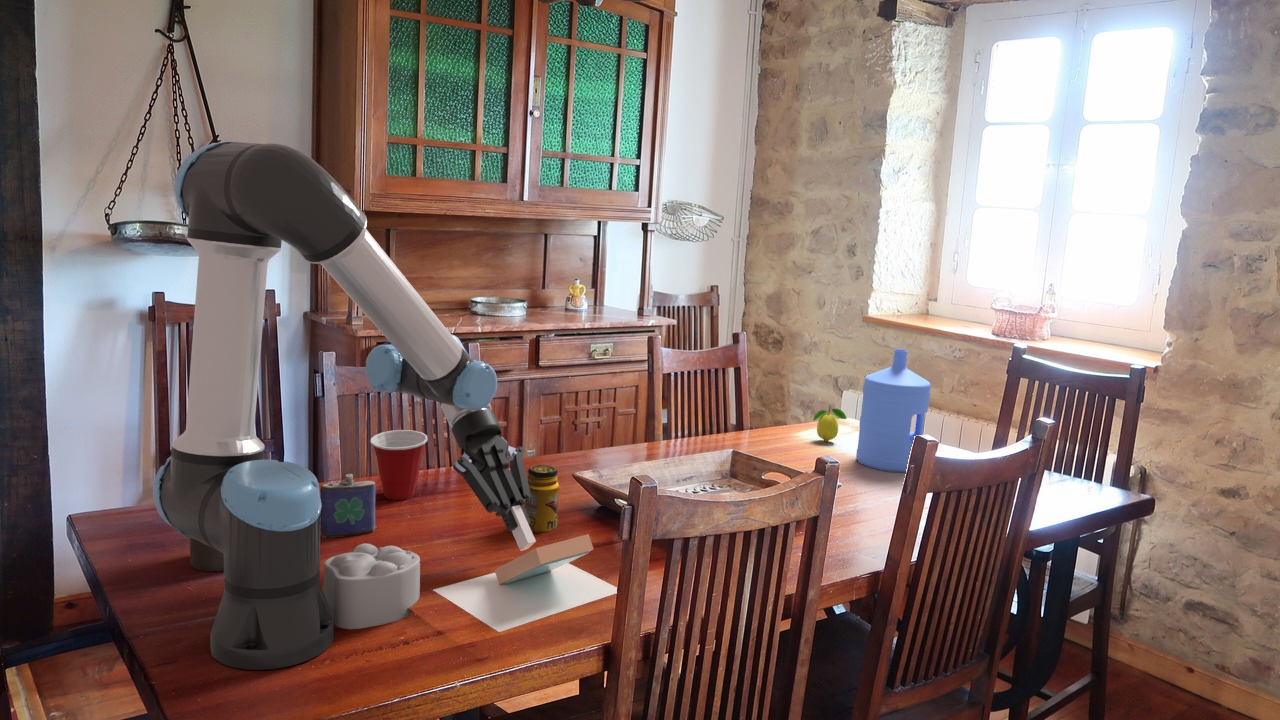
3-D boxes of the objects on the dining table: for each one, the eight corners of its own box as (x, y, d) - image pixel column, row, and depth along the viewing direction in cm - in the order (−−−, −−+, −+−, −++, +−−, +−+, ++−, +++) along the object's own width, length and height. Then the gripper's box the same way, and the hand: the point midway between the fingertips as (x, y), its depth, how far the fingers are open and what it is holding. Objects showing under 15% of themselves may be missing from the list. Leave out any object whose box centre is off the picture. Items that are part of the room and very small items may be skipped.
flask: (373, 527, 168) (374, 469, 166) (376, 533, 165) (377, 474, 163) (319, 533, 164) (319, 473, 162) (321, 539, 161) (321, 479, 159)
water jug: (862, 470, 223) (874, 353, 218) (850, 453, 238) (861, 343, 233) (929, 475, 222) (943, 358, 217) (912, 457, 238) (925, 347, 233)
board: (498, 640, 129) (499, 632, 129) (432, 597, 141) (432, 589, 141) (622, 598, 145) (623, 590, 145) (553, 562, 157) (554, 556, 157)
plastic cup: (358, 499, 182) (358, 439, 180) (389, 484, 192) (390, 427, 190) (407, 508, 179) (408, 447, 177) (437, 492, 189) (438, 434, 187)
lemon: (844, 444, 247) (848, 406, 245) (827, 446, 243) (831, 408, 242) (826, 437, 252) (830, 401, 250) (809, 439, 249) (813, 402, 247)
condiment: (565, 536, 170) (568, 471, 168) (523, 543, 165) (525, 477, 163) (546, 523, 176) (549, 460, 174) (505, 529, 171) (507, 465, 169)
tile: (499, 586, 144) (541, 565, 136) (494, 569, 145) (535, 548, 137) (551, 571, 151) (594, 550, 143) (546, 555, 152) (588, 534, 143)
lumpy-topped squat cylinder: (318, 604, 137) (318, 547, 135) (404, 587, 144) (405, 533, 143) (341, 633, 129) (342, 573, 127) (431, 613, 136) (433, 556, 135)
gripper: (494, 426, 164) (549, 547, 155) (428, 436, 155) (483, 565, 146) (513, 402, 159) (571, 526, 151) (447, 411, 150) (505, 544, 142)
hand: (528, 546), depth 149 cm, fingers closed
